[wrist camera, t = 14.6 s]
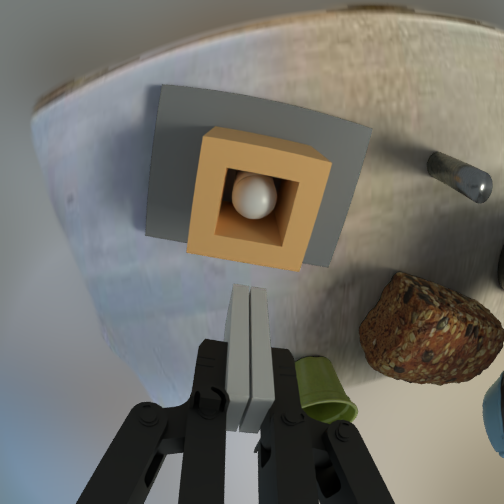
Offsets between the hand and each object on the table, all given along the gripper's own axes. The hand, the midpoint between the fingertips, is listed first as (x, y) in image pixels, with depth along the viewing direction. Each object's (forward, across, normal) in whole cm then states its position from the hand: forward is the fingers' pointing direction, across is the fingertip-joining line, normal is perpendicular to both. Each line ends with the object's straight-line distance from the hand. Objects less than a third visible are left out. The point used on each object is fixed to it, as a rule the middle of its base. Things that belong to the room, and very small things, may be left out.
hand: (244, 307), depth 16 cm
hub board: (+14, 0, -3) cm, 15 cm away
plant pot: (+15, -13, +21) cm, 29 cm away
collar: (+13, 0, -3) cm, 13 cm away
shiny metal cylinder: (+14, -18, -9) cm, 25 cm away
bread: (+15, -26, +9) cm, 31 cm away
